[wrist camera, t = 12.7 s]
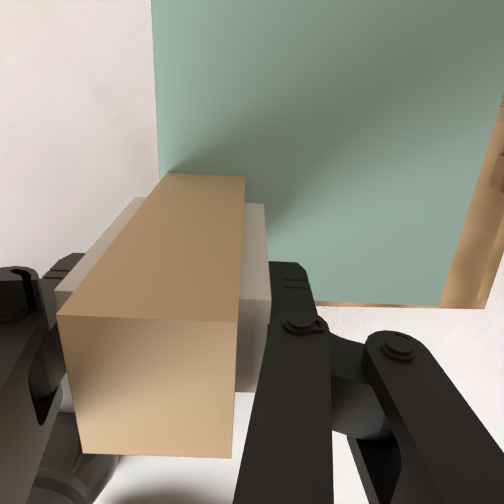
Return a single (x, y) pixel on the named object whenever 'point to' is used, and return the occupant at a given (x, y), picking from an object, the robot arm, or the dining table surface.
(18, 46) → the dining table surface
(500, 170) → the block
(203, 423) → the lid
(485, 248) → the toolbox
